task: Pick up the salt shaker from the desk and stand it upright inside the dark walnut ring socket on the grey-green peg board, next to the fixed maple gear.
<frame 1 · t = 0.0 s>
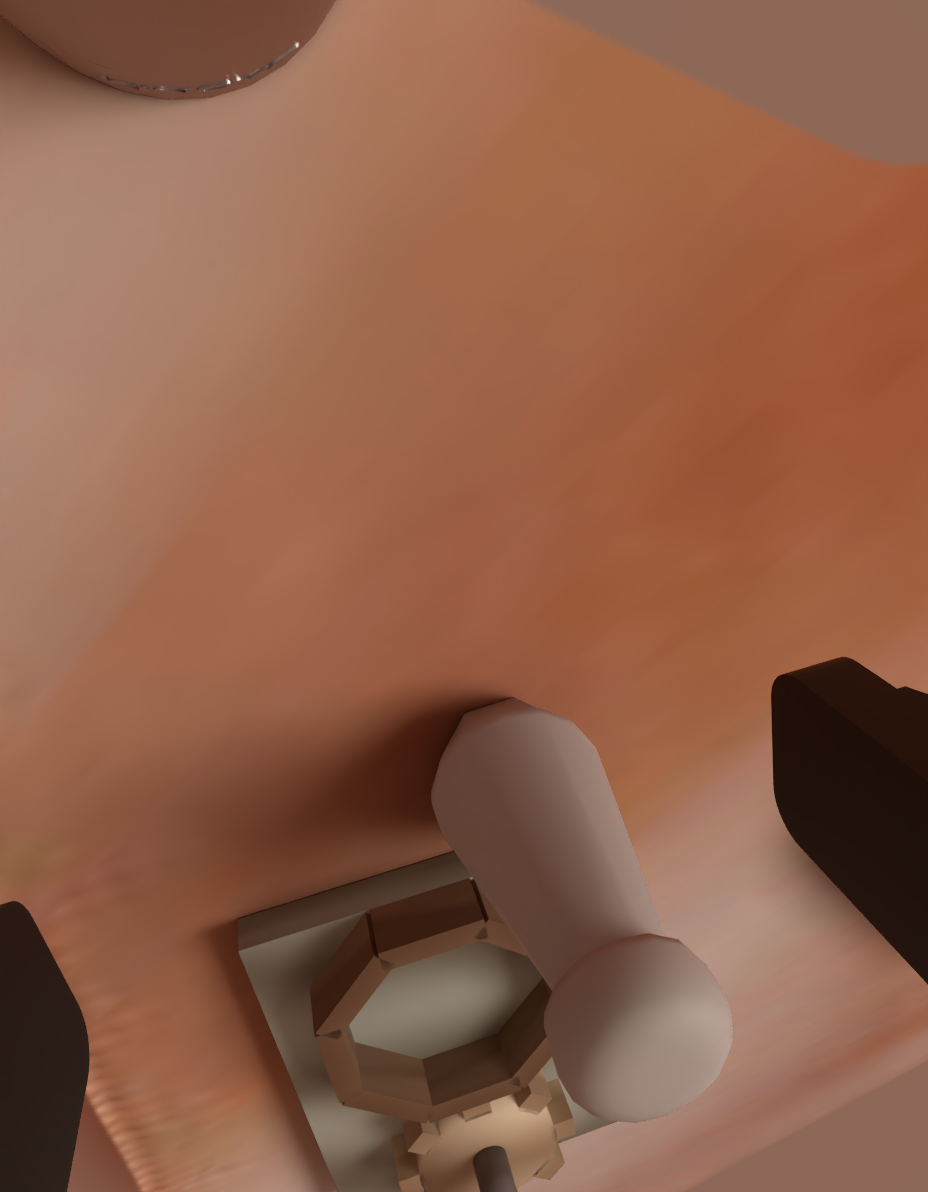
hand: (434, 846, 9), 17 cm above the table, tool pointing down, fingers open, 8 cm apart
peg board: (451, 1014, 35), on the table
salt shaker: (496, 745, 30), on the table
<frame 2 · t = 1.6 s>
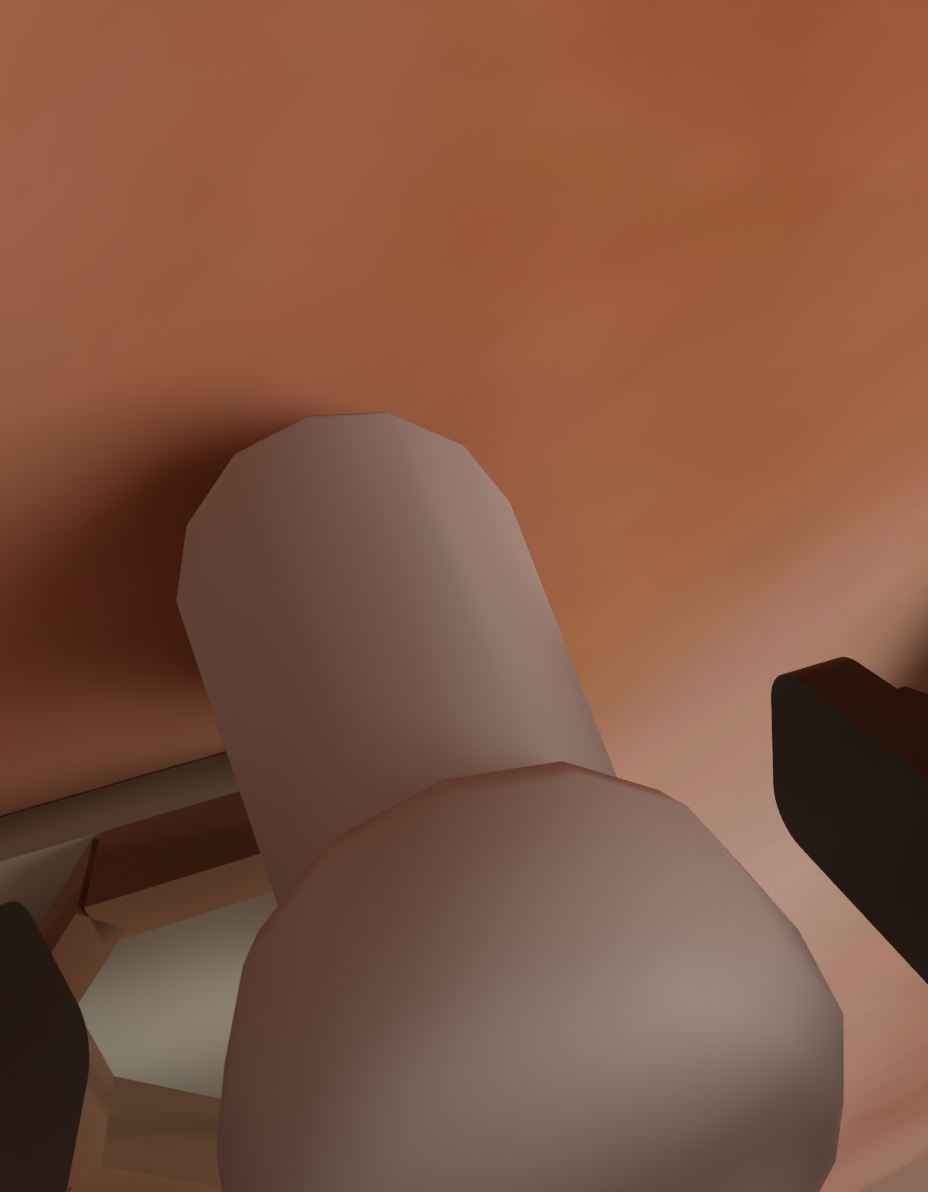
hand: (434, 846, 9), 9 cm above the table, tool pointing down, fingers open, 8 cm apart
peg board: (305, 1027, 21), on the table
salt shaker: (341, 533, 17), on the table
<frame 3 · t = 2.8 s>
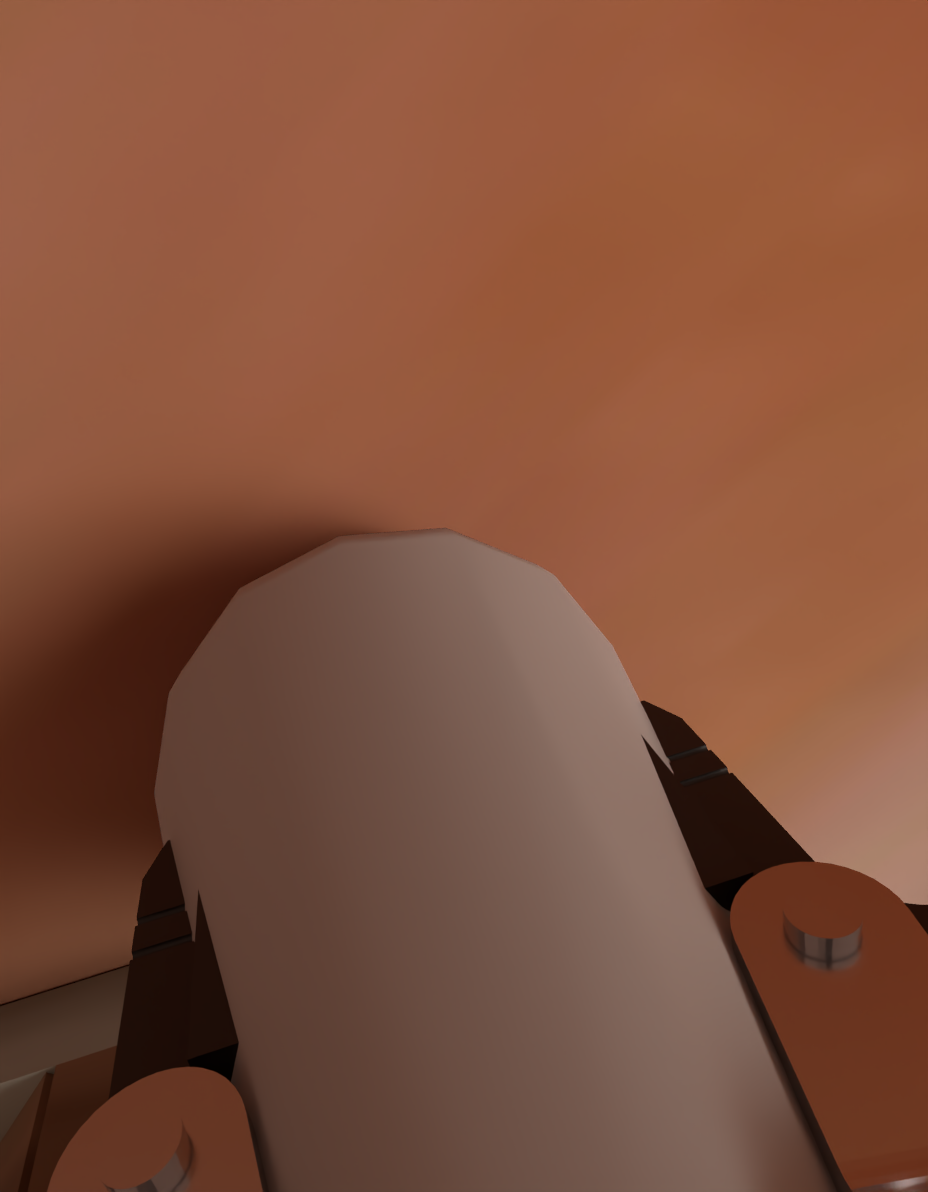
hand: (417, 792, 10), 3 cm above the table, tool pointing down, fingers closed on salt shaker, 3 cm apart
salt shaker: (375, 663, 13), on the table, touching gripper
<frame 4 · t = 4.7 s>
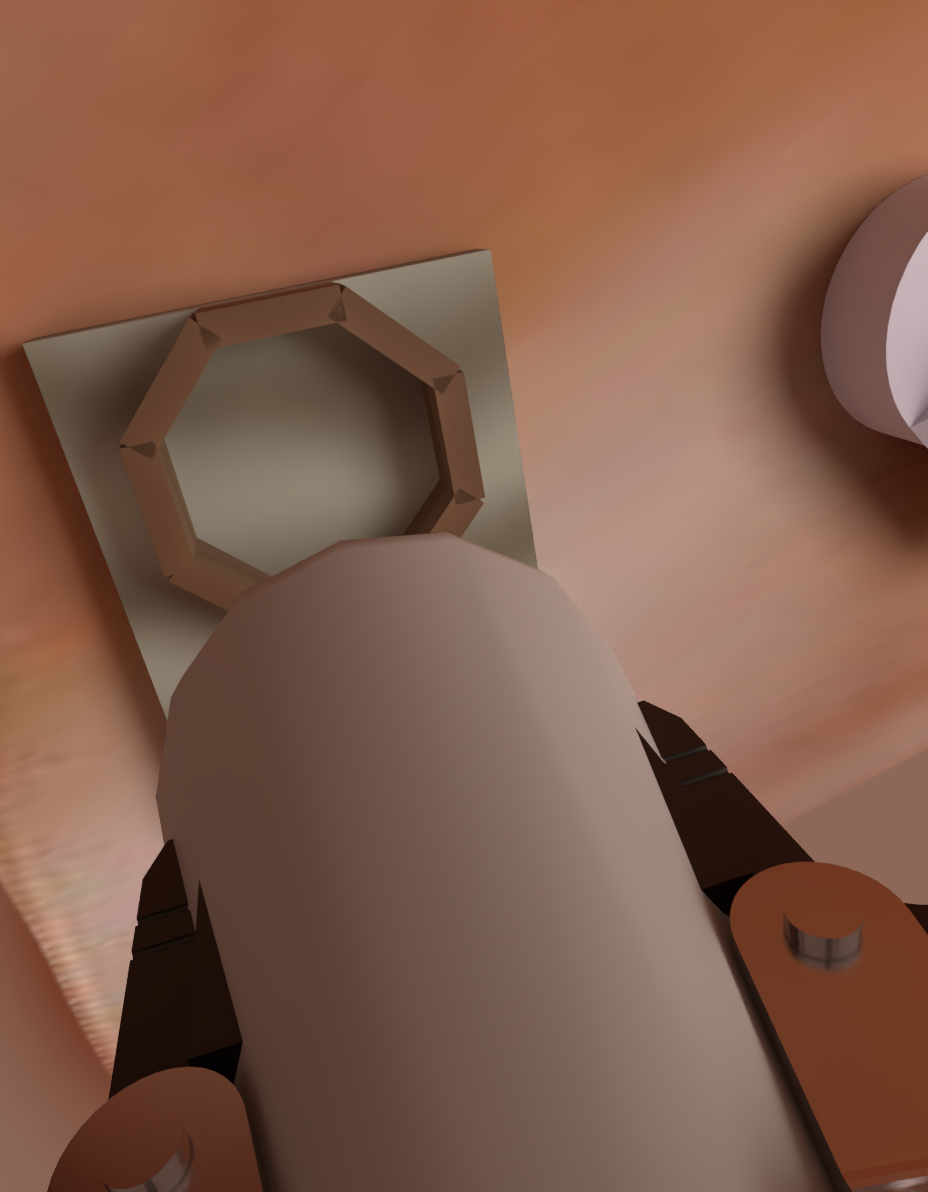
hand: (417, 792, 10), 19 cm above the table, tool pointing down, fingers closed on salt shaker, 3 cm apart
peg board: (333, 557, 28), on the table
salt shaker: (376, 666, 13), point 15 cm above the table, touching gripper
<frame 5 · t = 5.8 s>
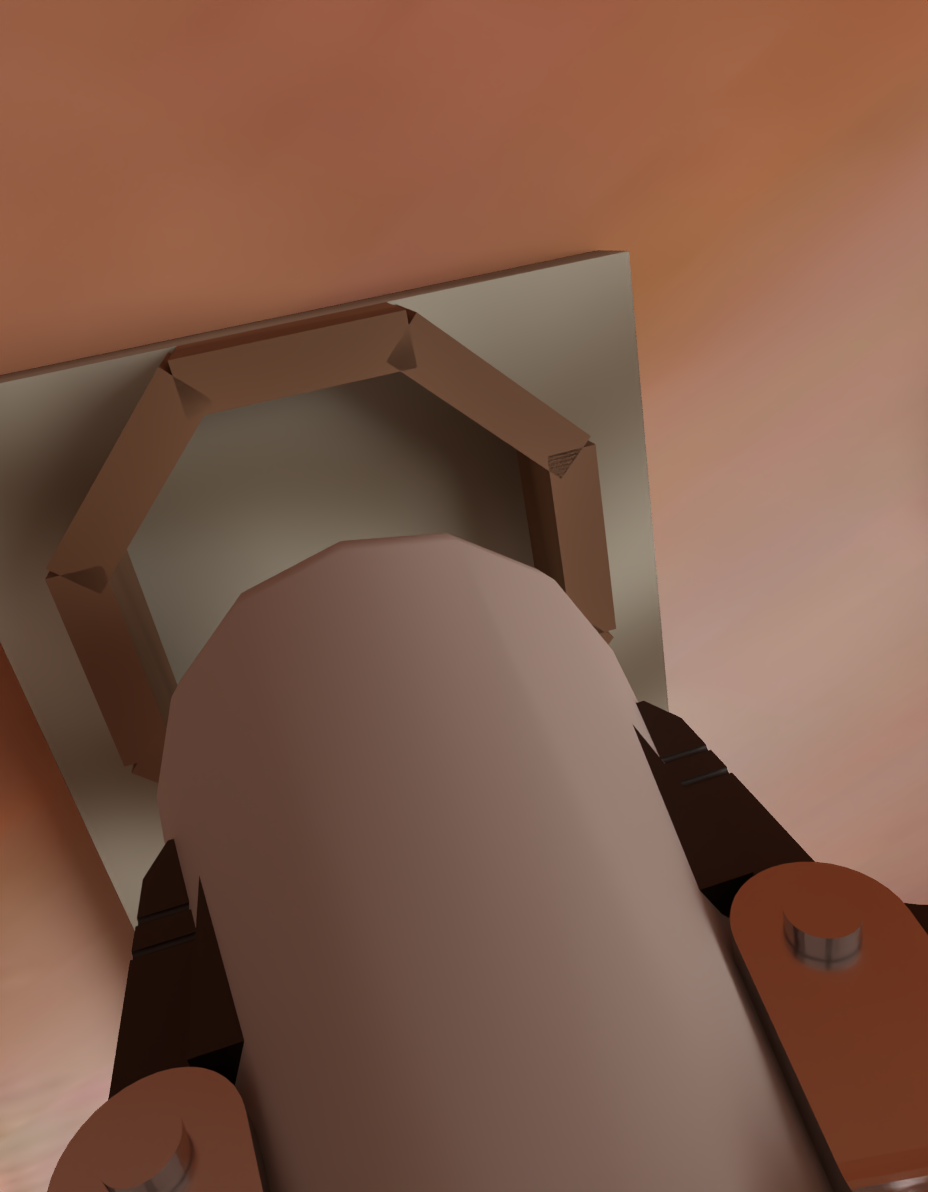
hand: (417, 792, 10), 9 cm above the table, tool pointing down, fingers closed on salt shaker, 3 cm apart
peg board: (376, 693, 20), on the table
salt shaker: (376, 667, 13), point 6 cm above the table, touching gripper
when the fingers open (6 cm above the table, at t = 6.6 s): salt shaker drops 2 cm, resting on peg board.
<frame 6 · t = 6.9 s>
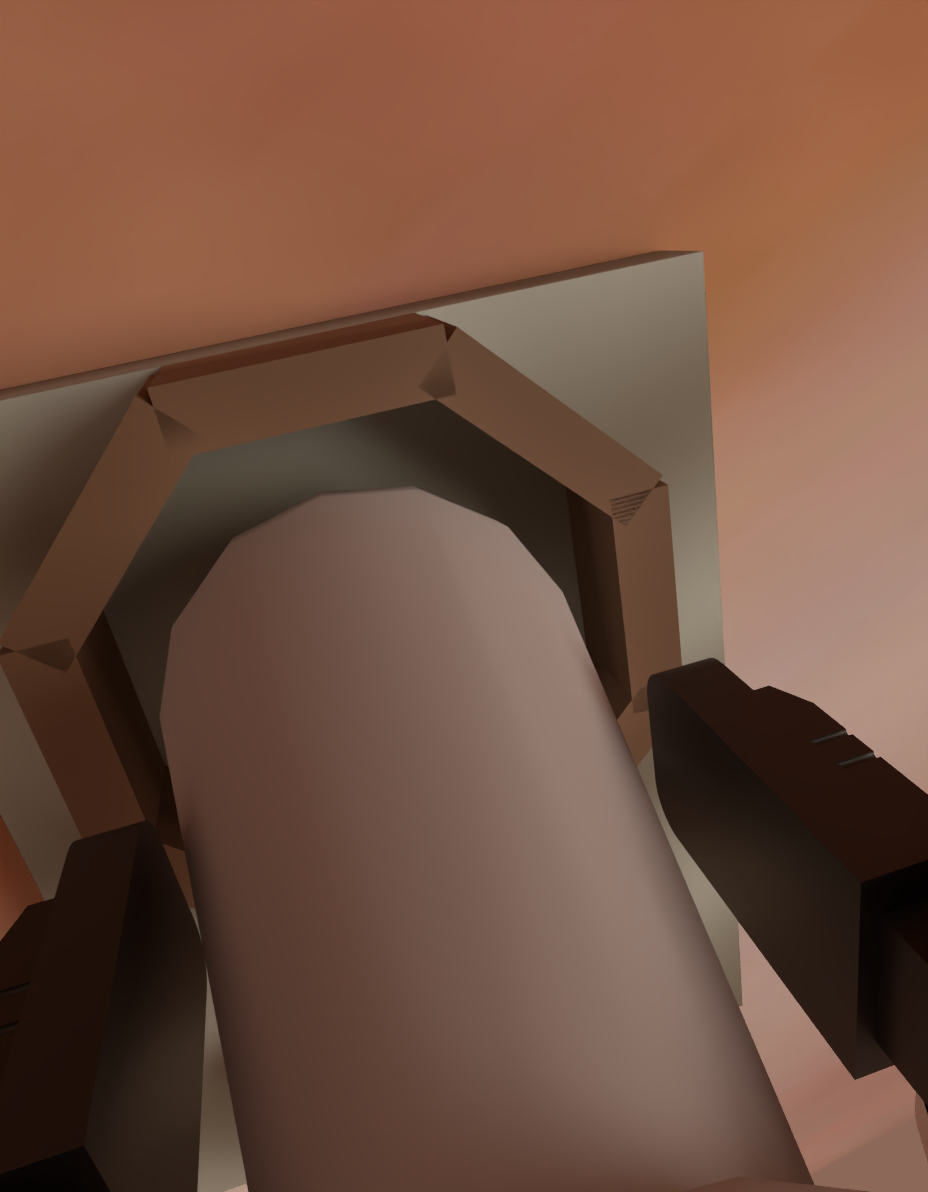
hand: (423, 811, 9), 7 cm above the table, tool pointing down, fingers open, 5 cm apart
peg board: (395, 760, 17), on the table
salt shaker: (358, 617, 14), point 1 cm above the table, touching peg board
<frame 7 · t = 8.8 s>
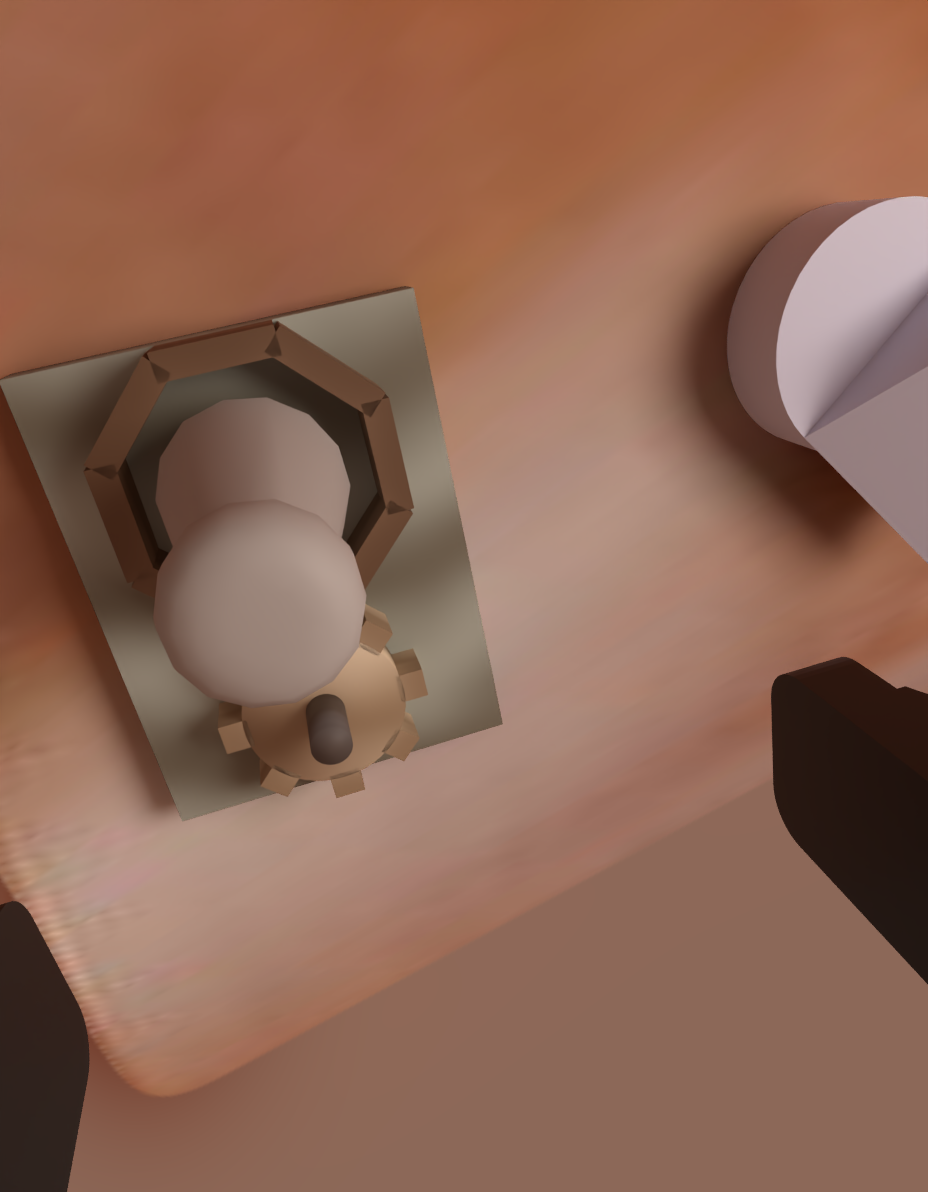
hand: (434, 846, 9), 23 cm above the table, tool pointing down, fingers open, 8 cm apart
wedge on round base: (856, 360, 34), on the table
peg board: (286, 563, 31), on the table
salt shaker: (254, 472, 28), point 1 cm above the table, touching peg board
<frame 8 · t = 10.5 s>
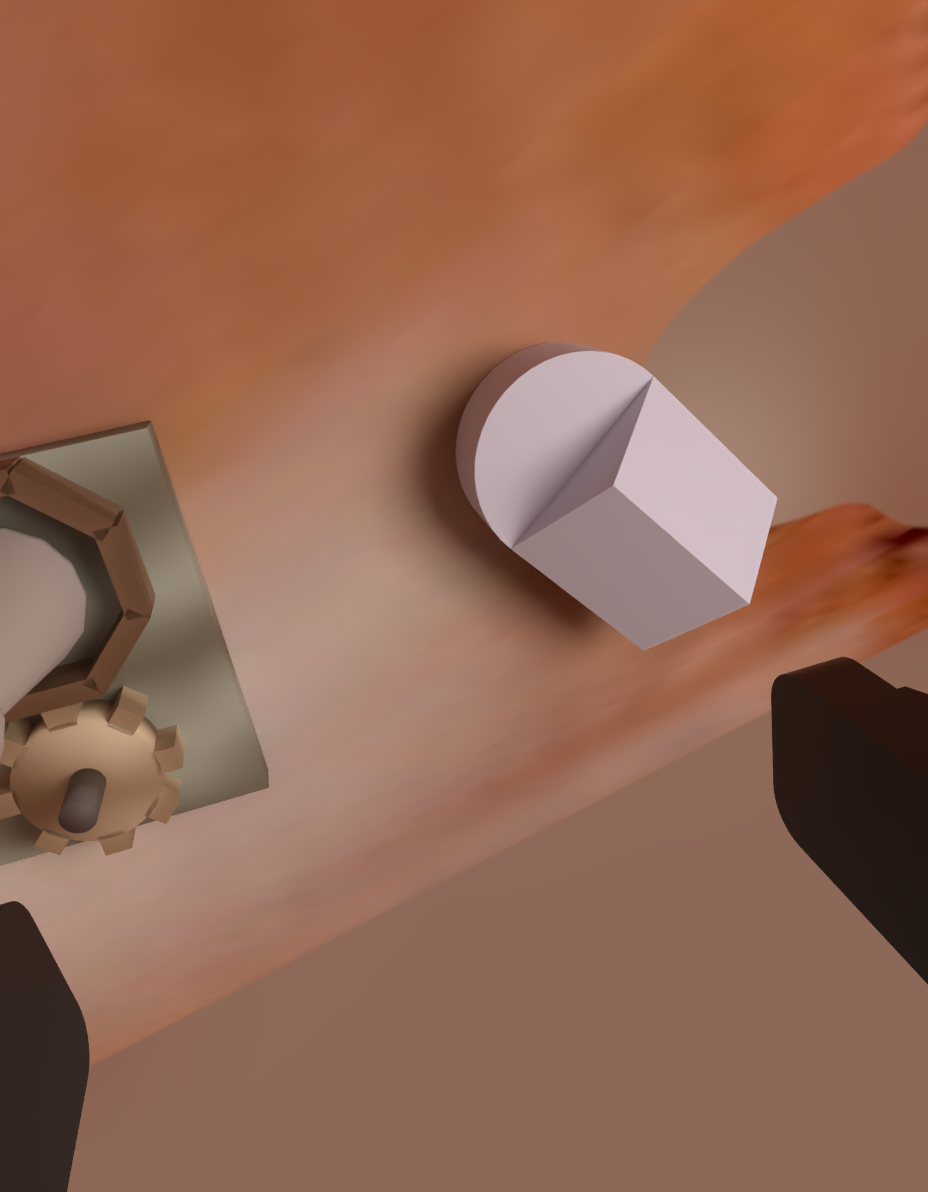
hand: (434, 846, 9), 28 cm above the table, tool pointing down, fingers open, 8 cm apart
wedge on round base: (582, 472, 39), on the table
peg board: (61, 651, 36), on the table
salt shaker: (17, 580, 33), point 1 cm above the table, touching peg board
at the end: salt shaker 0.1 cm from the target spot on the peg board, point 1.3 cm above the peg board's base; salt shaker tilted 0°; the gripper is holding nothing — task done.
